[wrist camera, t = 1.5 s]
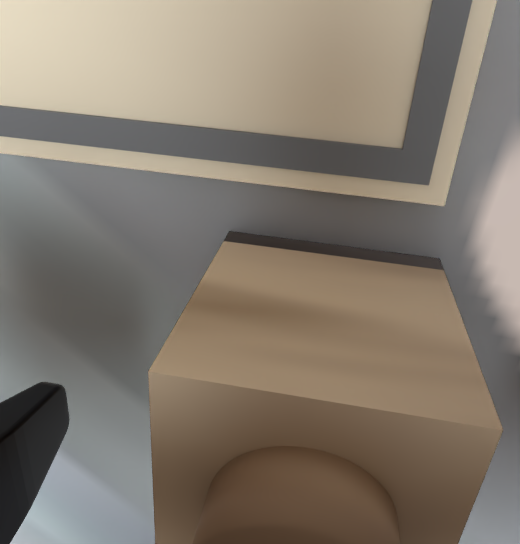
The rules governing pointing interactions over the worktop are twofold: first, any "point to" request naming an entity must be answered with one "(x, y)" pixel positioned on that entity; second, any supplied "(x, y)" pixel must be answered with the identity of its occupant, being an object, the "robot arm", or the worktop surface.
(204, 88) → the cream square plate
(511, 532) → the worktop surface
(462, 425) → the stamp
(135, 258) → the worktop surface
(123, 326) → the worktop surface
